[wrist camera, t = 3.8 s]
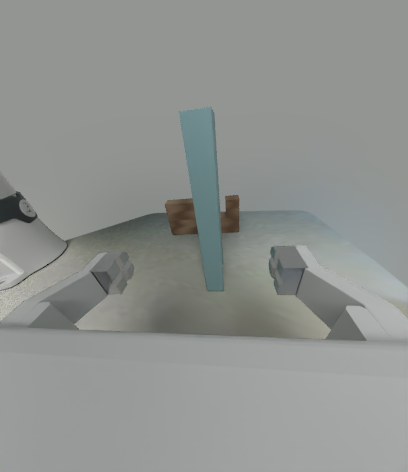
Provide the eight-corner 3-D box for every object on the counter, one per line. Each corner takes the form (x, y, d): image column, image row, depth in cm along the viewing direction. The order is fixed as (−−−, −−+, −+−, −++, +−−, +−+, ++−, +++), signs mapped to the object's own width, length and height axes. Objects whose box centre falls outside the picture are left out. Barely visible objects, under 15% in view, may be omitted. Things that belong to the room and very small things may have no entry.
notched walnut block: (172, 234, 39) (164, 204, 35) (175, 229, 41) (167, 200, 37) (238, 231, 37) (239, 199, 33) (237, 226, 39) (238, 195, 35)
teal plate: (207, 290, 24) (179, 111, 12) (209, 259, 30) (192, 116, 18) (223, 290, 24) (211, 106, 12) (222, 259, 30) (214, 113, 18)
